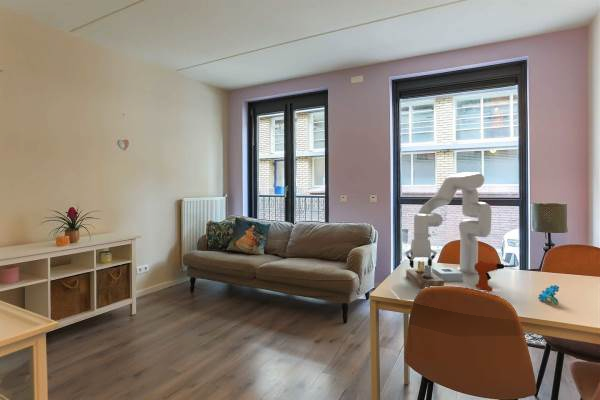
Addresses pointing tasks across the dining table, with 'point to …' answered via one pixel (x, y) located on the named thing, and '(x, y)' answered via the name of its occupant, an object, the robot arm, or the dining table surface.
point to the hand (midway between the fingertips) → (420, 267)
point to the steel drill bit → (427, 272)
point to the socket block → (448, 274)
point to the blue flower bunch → (549, 294)
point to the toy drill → (484, 276)
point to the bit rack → (420, 281)
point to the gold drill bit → (420, 267)
